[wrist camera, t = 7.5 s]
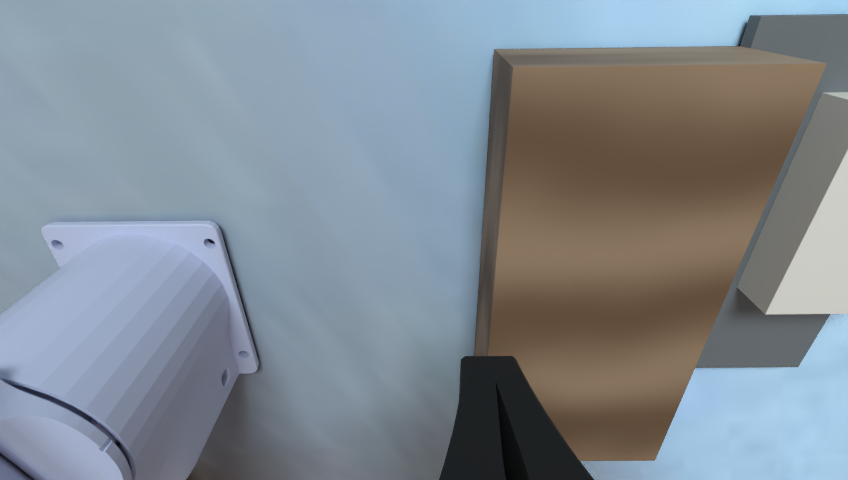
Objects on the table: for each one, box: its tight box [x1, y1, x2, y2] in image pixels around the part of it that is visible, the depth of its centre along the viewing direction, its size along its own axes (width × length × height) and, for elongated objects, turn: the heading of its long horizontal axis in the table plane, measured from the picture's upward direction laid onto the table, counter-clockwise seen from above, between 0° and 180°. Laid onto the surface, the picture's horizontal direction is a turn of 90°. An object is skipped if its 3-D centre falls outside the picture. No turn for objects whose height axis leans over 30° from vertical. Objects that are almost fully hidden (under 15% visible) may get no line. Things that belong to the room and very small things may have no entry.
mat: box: [695, 14, 848, 368], centre depth 19 cm, size 17×8×1 cm, turn 1°
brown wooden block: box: [474, 46, 827, 461], centre depth 19 cm, size 19×9×4 cm, turn 1°
